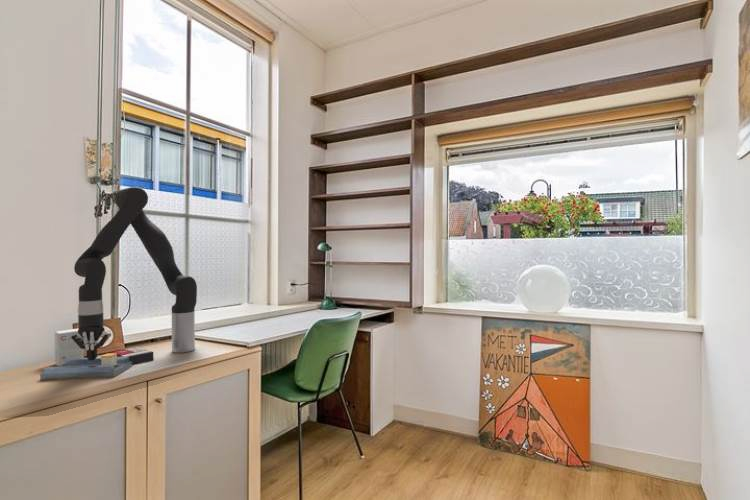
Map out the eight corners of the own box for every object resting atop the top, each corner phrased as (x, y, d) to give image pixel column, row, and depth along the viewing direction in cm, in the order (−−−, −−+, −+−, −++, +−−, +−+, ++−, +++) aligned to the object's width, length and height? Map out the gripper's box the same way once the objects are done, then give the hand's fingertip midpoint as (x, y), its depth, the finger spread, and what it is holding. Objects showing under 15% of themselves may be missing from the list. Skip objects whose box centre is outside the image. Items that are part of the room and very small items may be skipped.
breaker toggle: (106, 364, 148) (106, 353, 148) (117, 364, 149) (116, 353, 149) (101, 367, 145) (101, 356, 145) (111, 367, 145) (111, 355, 145)
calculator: (138, 346, 172) (153, 350, 162) (139, 356, 172) (154, 360, 162) (109, 351, 163) (123, 355, 154) (110, 362, 163) (123, 367, 154)
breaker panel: (65, 368, 151) (65, 358, 151) (132, 366, 154) (132, 356, 154) (40, 380, 138) (40, 369, 138) (114, 377, 141) (113, 366, 141)
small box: (79, 359, 163) (79, 327, 163) (84, 362, 159) (83, 330, 159) (54, 364, 157) (54, 331, 157) (58, 367, 153) (58, 333, 153)
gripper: (115, 310, 150) (116, 356, 151) (77, 311, 149) (78, 357, 149) (104, 313, 143) (105, 361, 143) (64, 314, 141) (65, 363, 142)
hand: (91, 359), depth 146 cm, fingers closed
